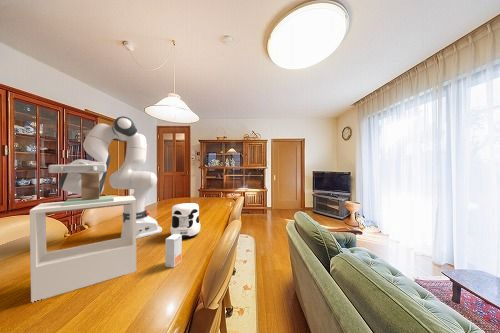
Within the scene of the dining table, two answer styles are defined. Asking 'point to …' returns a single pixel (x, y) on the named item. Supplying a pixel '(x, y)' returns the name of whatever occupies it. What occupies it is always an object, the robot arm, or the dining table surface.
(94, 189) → the walnut block
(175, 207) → the milk container
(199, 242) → the dining table surface
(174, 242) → the skincare box
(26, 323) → the dining table surface
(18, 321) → the dining table surface
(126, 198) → the box
